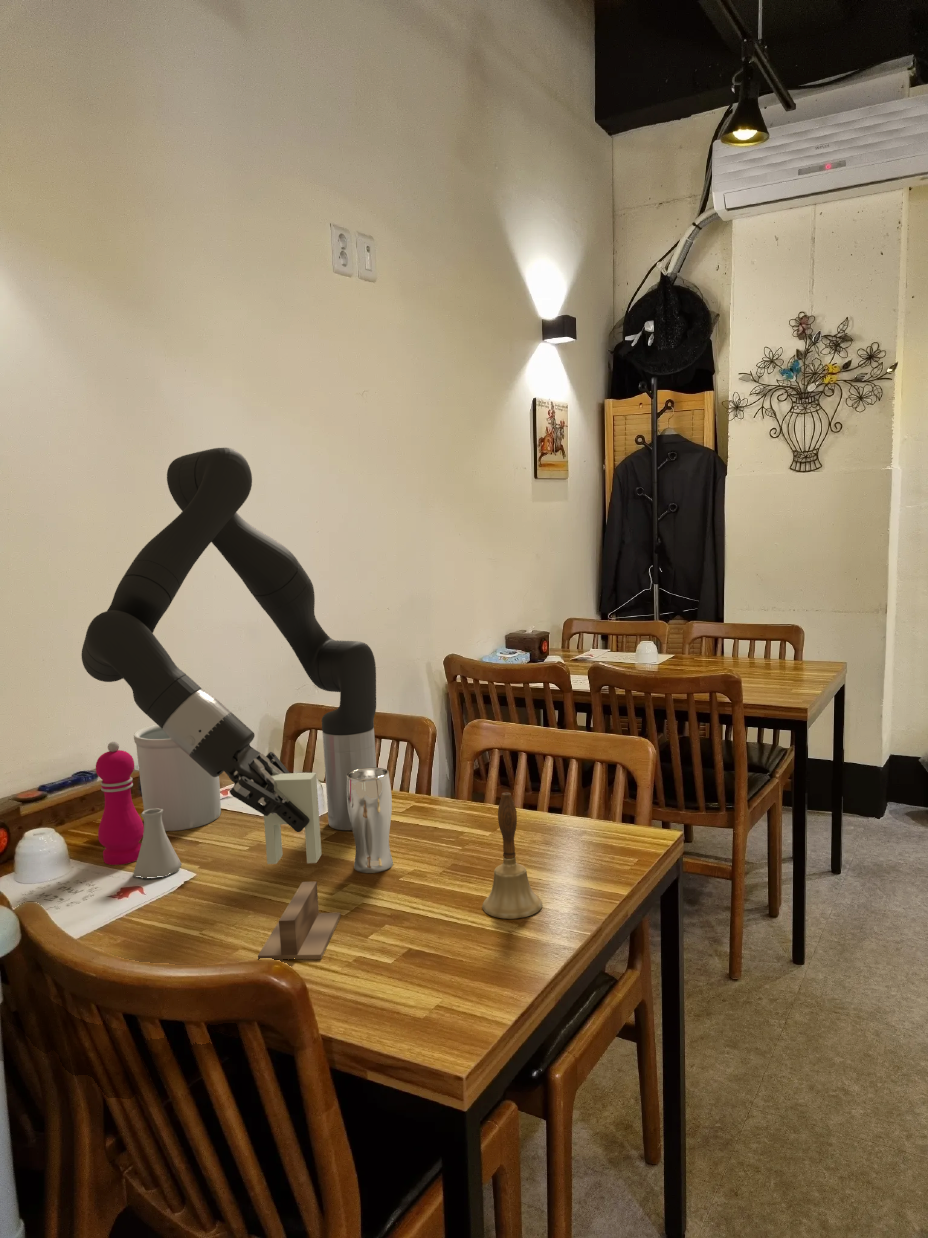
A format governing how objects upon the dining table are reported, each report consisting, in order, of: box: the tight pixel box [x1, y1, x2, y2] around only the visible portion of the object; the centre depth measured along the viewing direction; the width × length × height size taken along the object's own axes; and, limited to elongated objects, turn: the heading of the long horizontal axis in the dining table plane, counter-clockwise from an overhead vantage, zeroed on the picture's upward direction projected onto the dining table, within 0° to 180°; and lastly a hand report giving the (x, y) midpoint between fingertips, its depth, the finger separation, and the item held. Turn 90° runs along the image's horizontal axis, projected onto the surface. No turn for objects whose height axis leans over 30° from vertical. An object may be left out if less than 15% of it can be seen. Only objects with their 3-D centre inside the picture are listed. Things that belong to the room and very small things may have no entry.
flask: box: [132, 808, 182, 879], centre depth 143 cm, size 7×7×10 cm
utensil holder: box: [133, 724, 222, 832], centre depth 168 cm, size 15×15×18 cm
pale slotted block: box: [263, 772, 322, 865], centre depth 115 cm, size 6×3×11 cm, turn 86°
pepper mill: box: [95, 741, 144, 866], centre depth 149 cm, size 7×7×20 cm
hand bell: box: [481, 791, 543, 920], centre depth 123 cm, size 8×8×16 cm
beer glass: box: [347, 767, 394, 874], centre depth 140 cm, size 7×7×15 cm
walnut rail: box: [257, 881, 342, 961], centre depth 117 cm, size 12×8×5 cm, turn 176°
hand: (307, 821), depth 115 cm, fingers closed on pale slotted block, 3 cm apart
